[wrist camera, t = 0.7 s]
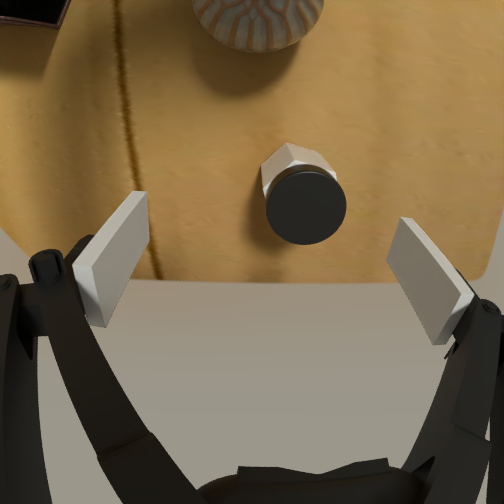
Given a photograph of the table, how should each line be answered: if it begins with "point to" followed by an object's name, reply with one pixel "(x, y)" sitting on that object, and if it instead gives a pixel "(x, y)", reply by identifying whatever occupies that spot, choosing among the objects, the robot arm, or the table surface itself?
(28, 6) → the letter holder
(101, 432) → the robot arm
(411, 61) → the table surface
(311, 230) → the jar
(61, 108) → the table surface
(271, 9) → the vase
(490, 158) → the table surface
